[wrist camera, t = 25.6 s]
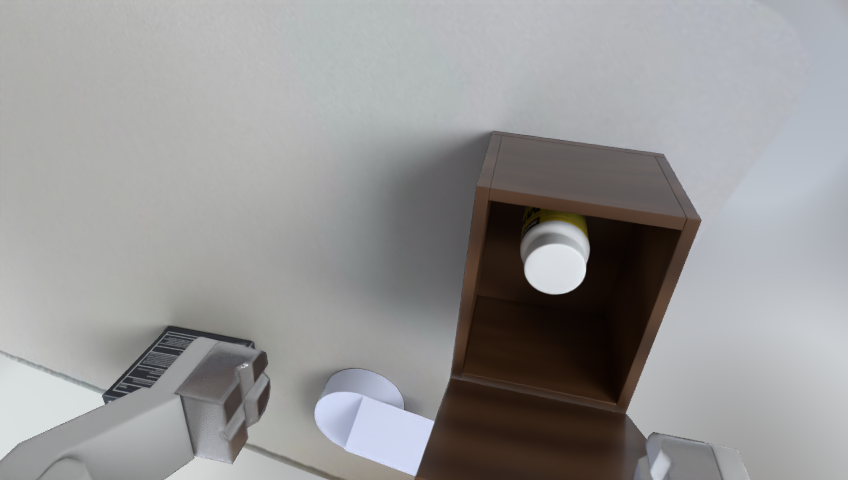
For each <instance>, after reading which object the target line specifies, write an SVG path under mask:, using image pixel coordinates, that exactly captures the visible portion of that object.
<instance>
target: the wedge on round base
mask: <svg viewBox="0 0 848 480" xmlns="http://www.w3.org/2000/svg"><path fill="white" fill-rule="evenodd" d="M314 415H315V420H316V423H317V425H318V427H319V428H320V430H321V431H322V432H323V433H324V435H325V436H327V437H328V438H329V439H330V440H331V441H333V442H334V443H336V444H337V445H339V446H341V447H344V448H345V449H344V450H346V451H349V452H351V453H354V454H357V455H359V456H362V457H365V458H368V459H370V460H373V461H376V462H378V463H381V464H384V465H386V466H389V467H392V468H395V469H397V470H400V471H403V472H405V473H408V474H411V475H414V476H416V473H417V470H418V467H419V464H420V462H421V459H422V456H423V453H424V450H425V447H426V445H427V442H428V439H429V436H430V433H431V430H432V428H433V425H434V422H435V421H432V420H430V419H427V418H424V417H421V416H419V415H416V414H413V413H410V412H408V411H405V410H404V402H403V398H402V396H401V394H400V392H399V391H398V389H397V388H396V387H395V386H394V385H393V384H392V383H391V382H390V381H389V380H387V379H386V378H384V377H383V376H381V375H379V374H377V373H374V372H371V371H368V370H364V369H346V370H342V371H340V372H337V373H336V374H334V375H333V376H332V377H331V378H330V379H329V381H328V383H327V385H326V387H325V389H324V391H323V393H322V395H321V397H320V399H319V401H318V403H317V405H316V407H315V414H314Z"/></svg>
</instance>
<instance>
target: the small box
mask: <svg viewBox="0 0 848 480" xmlns="http://www.w3.org/2000/svg"><path fill="white" fill-rule="evenodd" d="M199 337H205V338H209V339H213V340H218V341H223V342H228V343H232V344H236V345H240V346H245V347H249V348H253V349H255V347H254V343H253V342H251V341H246V340H241V339H235V338H230V337H224V336H219V335H214V334H208V333H203V332H198V331H192V330H187V329H181V328H176V327H171V326H168V327H167V328H166V329H165V330H164V332H163V333H162V334H161V335H160V336H159V337H158V338H157V339H156V340H155V342H154V343H153V344H152V345H151V346H150V347H149V348H148V349H147V350H146V351H145V352H144V353H143V354H142V355H141V356H140V357H139V358H138V359H137V360H136V361H135V362H134V363H133V364H132V365H131V366H130V368H129V369H128V370H127V371H126V372H125V373H124V374H123V375H122V376H121V377H120V378H119V379H118V380H117V381H116V382H115V383H114V384H113V385H112V386H111V387H110V389H108V390H107V391H106V392H105V393H104V394H103V395H102V398H103V400H104V402H105V404H107V403H110V402H112V401H114V400H116V399H119V398H121V397H123V396H125V395H127V394H130V393H132V392H134V391H136V390H138V389H141V388H143V387H145V388H151V387H152V386H153V384H154V383H155V382H156V381H157V380H158V379H159V378H160V377H161V376H162V375H163V373H164V372H165V371H166V370H167V369H168V368H169V367H170V366H171V365H172V364H173V362H174V361H175V360H176V359H177V358H178V357H179V356H180V355H181V354H182V353H183V351H184V350H185V349H186V348H187V347H188V346H189V345H190V344H191V343H192V342H193V341H194V340H195V339H197V338H199Z"/></svg>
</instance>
